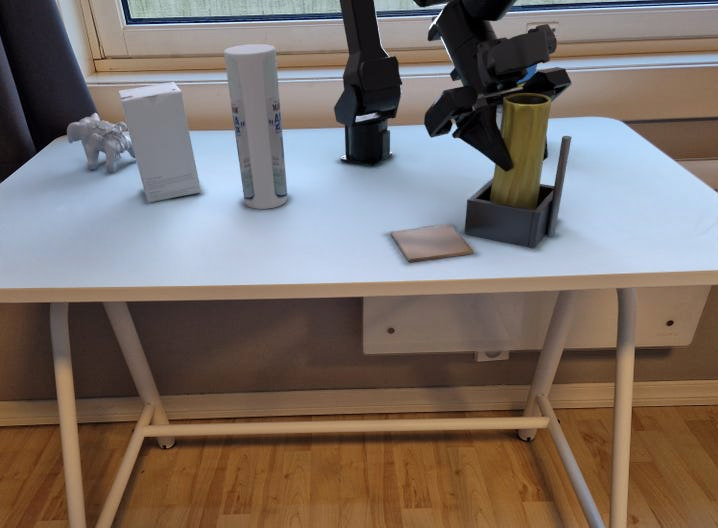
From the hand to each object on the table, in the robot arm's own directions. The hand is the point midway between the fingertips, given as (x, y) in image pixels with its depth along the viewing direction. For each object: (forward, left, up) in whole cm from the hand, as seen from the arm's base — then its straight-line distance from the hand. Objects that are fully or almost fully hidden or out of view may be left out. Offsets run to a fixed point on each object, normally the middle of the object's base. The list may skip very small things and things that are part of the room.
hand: (527, 164), depth 75 cm
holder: (-1, +1, -8) cm, 8 cm away
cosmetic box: (-50, -10, -9) cm, 52 cm away
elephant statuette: (-70, -6, -9) cm, 71 cm away
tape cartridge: (-14, +34, -9) cm, 37 cm away
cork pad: (-8, -8, -8) cm, 14 cm away
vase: (-1, +1, -7) cm, 7 cm away
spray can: (-35, -6, -9) cm, 37 cm away
